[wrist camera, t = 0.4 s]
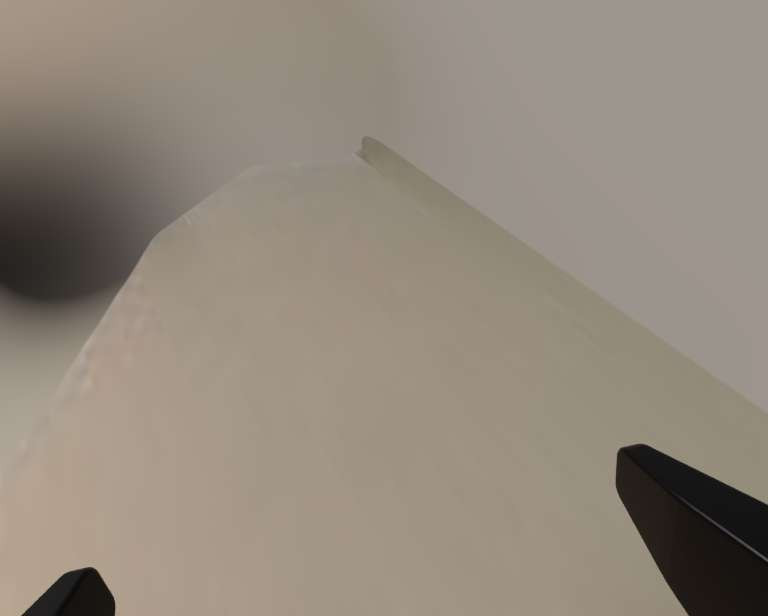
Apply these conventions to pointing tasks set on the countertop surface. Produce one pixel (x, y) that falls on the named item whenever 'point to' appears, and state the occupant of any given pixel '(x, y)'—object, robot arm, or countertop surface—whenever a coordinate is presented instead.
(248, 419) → the countertop surface
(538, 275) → the countertop surface
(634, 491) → the robot arm
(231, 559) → the countertop surface
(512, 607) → the countertop surface
